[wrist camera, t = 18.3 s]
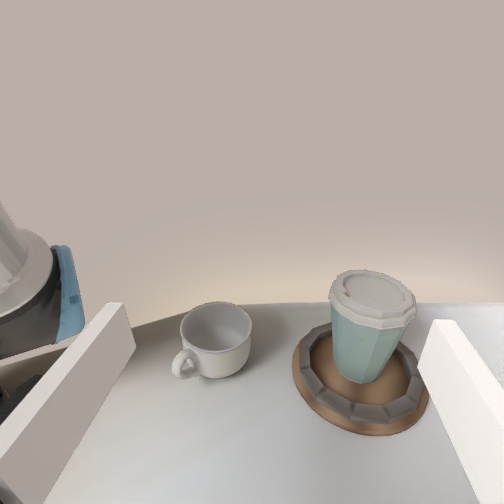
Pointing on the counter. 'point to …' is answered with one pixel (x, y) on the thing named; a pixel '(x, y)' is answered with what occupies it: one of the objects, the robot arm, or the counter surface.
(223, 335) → the teacup
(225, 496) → the counter surface
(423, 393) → the ring board
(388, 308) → the disposable coffee cup
